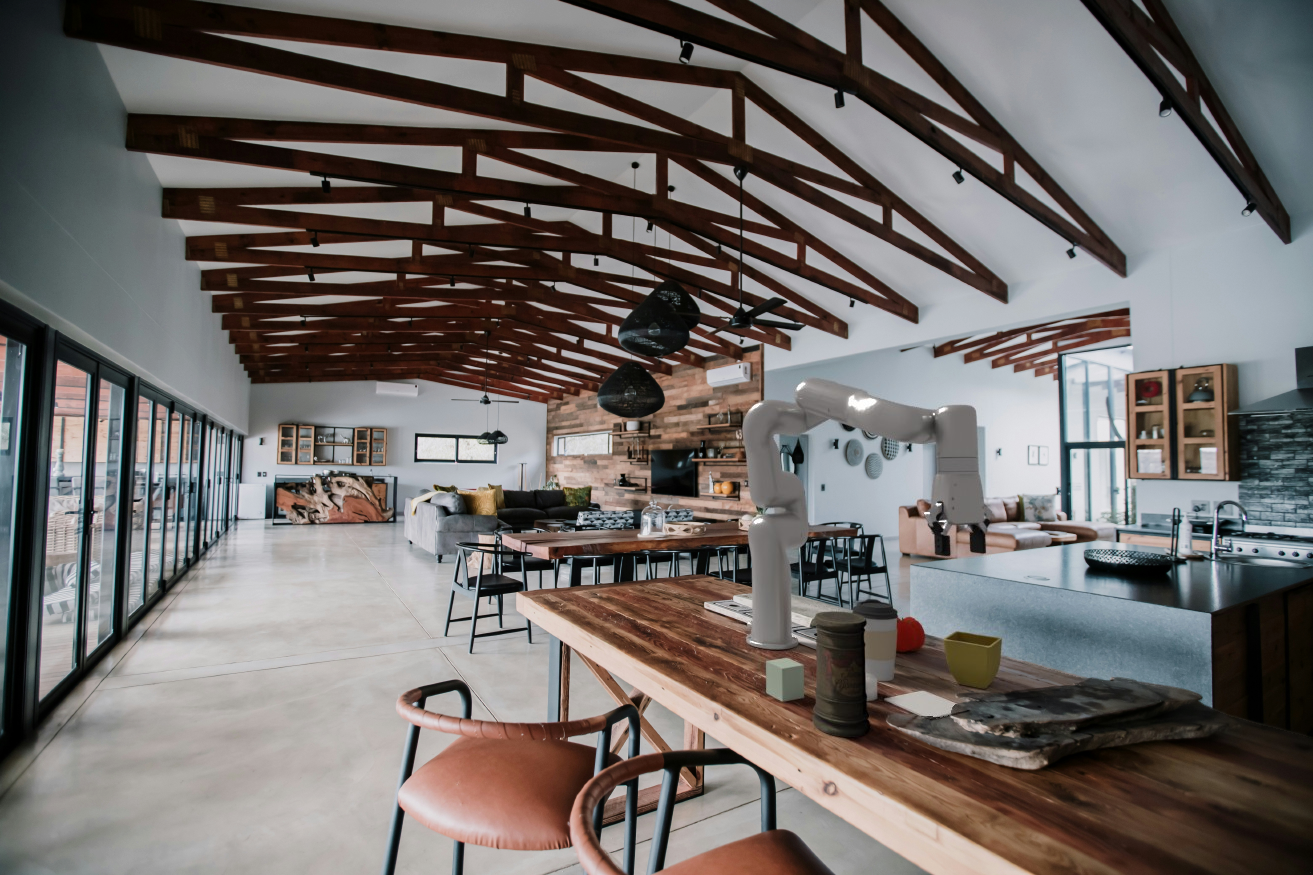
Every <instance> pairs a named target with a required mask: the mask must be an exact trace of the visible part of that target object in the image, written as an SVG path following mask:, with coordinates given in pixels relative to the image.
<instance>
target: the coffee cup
mask: <svg viewBox="0 0 1313 875" xmlns="http://www.w3.org/2000/svg"><path fill="white" fill-rule="evenodd" d="M851 613H854V614H858V615H861V616H863V617H865V618H866V621H867V624H866V626H865V627H864V628H865V632H864V642H865V644H866V646H865V672H866V673H869V674H872V675H874V676H876V677H877V682H888V681H889V682H890V681H892V680H894V678H895V677H894V676H895V662H896V657H897V651H896V644H897V618H899V615H898V610H897V609H896V608H894V607H893V604H891V603H888V602H884V601H883V602H882V601H881V600H879V599H876V598H875V599H874V598H868V599H865V600H863V601H858V602H857V603H856V606H853V607H852V612H851Z"/></svg>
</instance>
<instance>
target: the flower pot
mask: <svg viewBox="0 0 1313 875" xmlns="http://www.w3.org/2000/svg"><path fill="white" fill-rule="evenodd" d="M942 640H943V647H944V652H945V659H946V664H947V667H948V670H949V672H950V673H951V676H952V677H953V679H954V680H955V682H956V683H957V684H960V685H963V686H968V687H973V688H977V689H982V690H984V689H987V688H988V687H989V686H990V685H991V684H992V683H993V681H994V680H995V679H996V676H997V675H998V671H999V668H1000V665H1001V657H1002V656H1001V655H1002V644H1003V639H1002V637H998V636H990V635H985V634H977V633H976V634H975V633H971V632H964V631H958V630H956V631H953V632H952V633H951V634H949V635H948V636H946V637H944V638H943V639H942Z"/></svg>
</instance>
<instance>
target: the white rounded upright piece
mask: <svg viewBox="0 0 1313 875" xmlns="http://www.w3.org/2000/svg"><path fill="white" fill-rule="evenodd" d="M866 694H867V702H870V701H875V700H877V699H878V681H877V677H876V676H874V675H872V674H869V673H866Z"/></svg>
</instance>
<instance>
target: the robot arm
mask: <svg viewBox="0 0 1313 875" xmlns="http://www.w3.org/2000/svg"><path fill="white" fill-rule="evenodd" d="M794 390H795V391H794V399H795V402H792V401H785V400H778V399H765V400H760V401H759V402H757V403H754V405H752V406H751V407H750V408H749V410H748V411H747V412H746V414H745V415H744V416H745V417H744V418H743V422H742V439H743V444H744V449H745V457H746V468H747V479H748V487H749V488H748V490H749V496H750V500H751V502H752V503H753V505H755V506H756V507H757V508H760V509H773V511H774V513H766V514H762V515H759V516H757V517H756V518H755V519H753V520H752V521H751V523H750V524H749V527H748V529H747V538H748V539H747V540H748V545H749V550H750V557H751V583H752V584H751V586H752V587H751V588H752V589H751V590H752V591H751V592H752V594H751V595H752V596H751V598H752V601H751V602H752V603H751V605H752V607H751V608H752V620H751V621H747V623H746V625H747V628H750V629H751V630H750V633H749V634H747V635H746V637H745V639H746V640H745V641H746V643H747V644H748V645H749V646H752V647H755V648H759V649H764V650H788V649H794V648H796V647H797V646H798V645H799V639H798V637H796V636H795V637H796V638H795V637H792V633H793V631H792V625H793V624H792V623H793V622H792V619H793V618H792V570H791V564H790V560H789V557H788V554H787V551H792V550H796V549H799V548H802V546H804V545H805V544H806V542H807V540H808V538H809V532H810V528H809V519H808V508H807V500H806V492H805V487H804V484H803V482H802V480H801V479H800V477H799V476H798V475H796V473H795V472H794V473H793V472H791V471H788V470H783V468H782V462H781V460H782V459H781V454H780V453H781V451H780V448H779V445H778V444H777V441H775V438H774V436H775V435H782V436H799V435H802V434H805V433H806V432H808V431H810V430H812V429H814V428H816V427H818V426H819V425H822V424H824V423H825V422H827V421H829V420H831V421H834V422H838V423H839V424H844V425H846V426H849V427H852V428H854V429H859V430H862V431H864V432H867V433H869V434H872V435H876V436H879V437H882V438H884V439H889V440H892V441H894V442H900V443H904V444H905V443H907V444H917V445H928V444H932V443H933V444H934V443H935V455H936V456H935V458H936V459H935V462H936V474H934V475H933V479H932V485H931V496H930V497H931V498H930V508H929V509H928V510H926V511H925V512H924V517H925V520H926V522H927V526H928V527H929V529H930V530H931V531H930V533H931V534H932V535H933V537H934V541H933V542H934V554H935V555H936V556H941V557H951V556H952V555H951V554H952V553H951V552H952V550H951V537H950V536H951V535H948V533H949V531H950V530H951V527H952V526H965V525H967V526H968V528H969V529H970V530H971V531H970V532H969V551H970V552H971V553H972V554H973V553H975V554H981V555H983V554H986V553H987V541H986V540H987V539H986V538H987V536H986V534H987V533H988V532H989V531H988V528H989V526H990V524H991V521H990V520H991V518H992V514H993V511H992V510H991V509H990V508H988V507H987V506H986V505H985V499H984V490H983V485H982V479H981V475H980V470H979V468H980V464H979V446H978V445H979V444H978V440H979V439H978V421H977V420H978V419H977V418H978V416H977V410H976V408H974V406H972V405H969V404H950V405H942V406H940V407H938V408H937V409H933V408H932V409H930V408H923V407H918V406H912V405H909V404H907V405H906V404H903V403H900V402H895V401H891V400H888V399H885V398H880V397H877V396H874V395H871V394H869V393H868V391H866V390H864V389H861V388H856V387H853V386H851V385H850V386H849V385H845V384H843V383H839V382H836V381H832V380H829V379H824V378H819V377H808V378H806V379H804V380H802V381H800V382H799V383H798V385H797V386H796V388H795V389H794Z"/></svg>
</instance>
